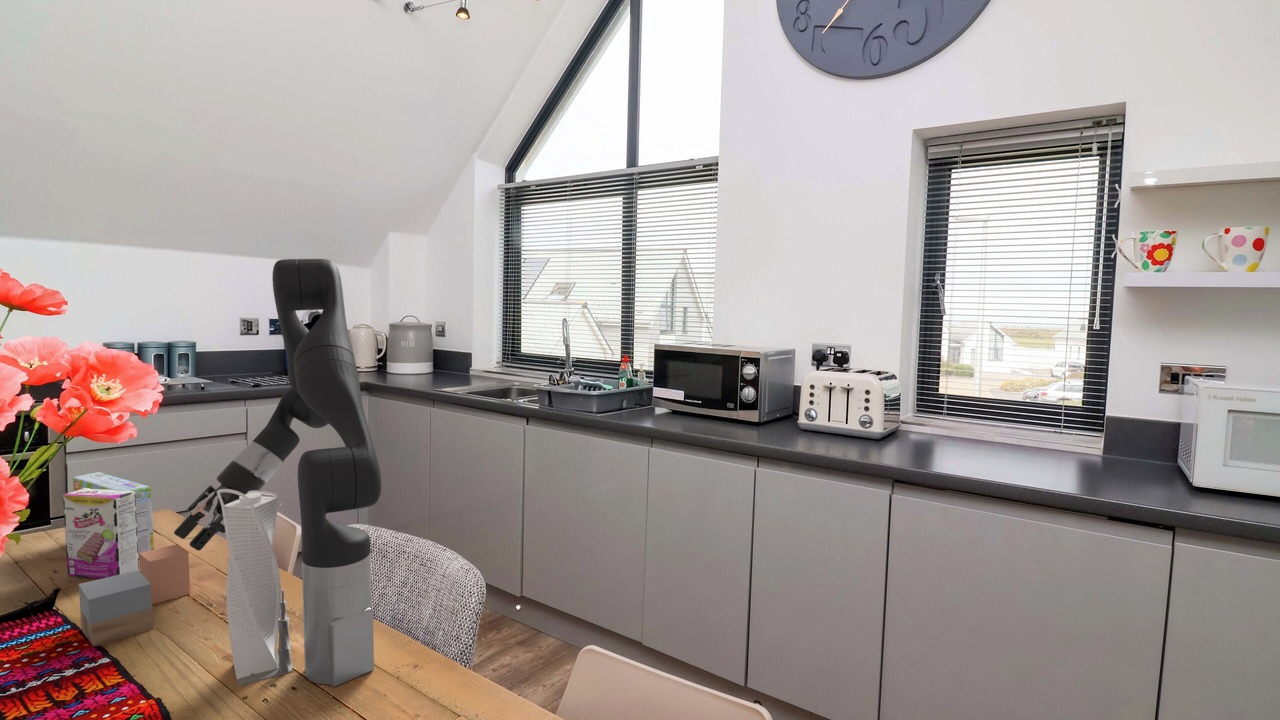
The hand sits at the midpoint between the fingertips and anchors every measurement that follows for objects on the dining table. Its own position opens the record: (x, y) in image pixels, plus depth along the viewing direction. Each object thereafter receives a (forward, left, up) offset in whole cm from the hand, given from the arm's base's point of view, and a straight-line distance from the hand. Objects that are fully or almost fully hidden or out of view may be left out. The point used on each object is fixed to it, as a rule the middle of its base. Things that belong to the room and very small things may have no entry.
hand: (185, 542), depth 127 cm
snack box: (+33, +4, -9) cm, 34 cm away
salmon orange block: (0, +4, -9) cm, 10 cm away
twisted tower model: (-38, +3, -9) cm, 39 cm away
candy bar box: (+19, +9, -9) cm, 23 cm away
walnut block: (-9, +13, -9) cm, 18 cm away
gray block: (-9, +13, -5) cm, 17 cm away
